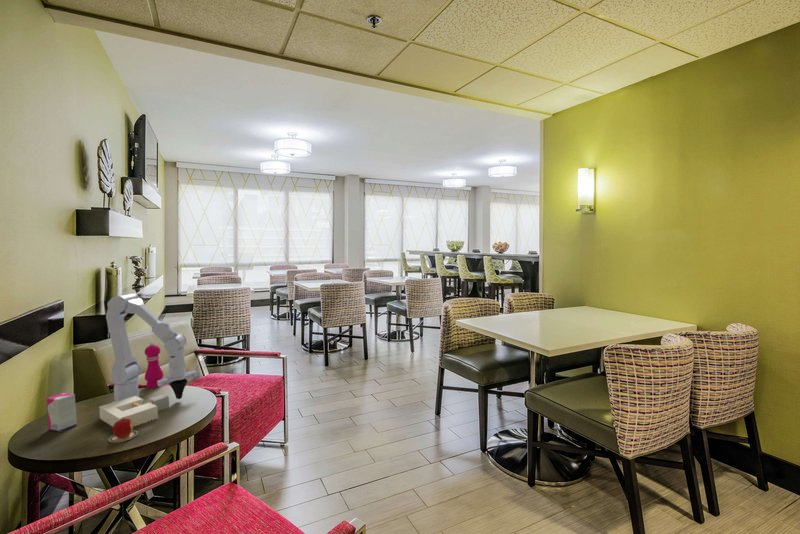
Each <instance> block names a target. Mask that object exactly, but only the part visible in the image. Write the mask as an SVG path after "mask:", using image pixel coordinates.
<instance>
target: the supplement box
mask: <svg viewBox="0 0 800 534" xmlns="http://www.w3.org/2000/svg"><path fill="white" fill-rule="evenodd" d="M46 409H47V410H46V411H47V420H48V422H47V423H48V431H51V432H56V433H60V432H61V433H62V432H63V431H66V430H68V429H71V428H73V427H77V426H78V425H77V424H78V423H77V408H76V394H75V393H69V392H62V393H59V394H55V395H52V396H49V397H47V398H46Z"/></svg>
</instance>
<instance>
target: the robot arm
mask: <svg viewBox="0 0 800 534" xmlns="http://www.w3.org/2000/svg"><path fill="white" fill-rule="evenodd" d="M106 304H107V305H106V306H107V309H106V310H107V311H106V314H105V319H106V323H107V324H106V325H107V328H108V333H109V337H110V341H111V347H112V350H113V357H114V359H115V361H114V362H113V364H112V366H111V374H110V375H111V376H110V379H111V381H112V382H113V383H114V385H113V394H114V395H113V396H114V398H113V399H114V401H112V402H111V403H113V402H116V401H120V400H123V399H126V398H130V397H133V396H137V397H139V398H140V391H139V375H141V372H142V367H141V365H140V364H139V362H138V360H137V358H136V357H135V356H134V355H132V351H131V346H130V343H129V342H130V340H129V337H128V333H127V329H126V324H125V317H126V316H127V315H128V314H132V315H133V314H134V315H137V316H138V317H139V318H140V319H142V320H143V321H144V322H145V323H147V325H148V326H149V327H151V332H152V333H153V334H154V336H156V337H157V338H158V339H159V340H160V341H161V342H162V343H163V347H164V349H165V351H166V352H167V357H168V358H167V359H168V360H167V361H168V373H169V374H168V375H169V376H166V377H164V378H162V379H161V380H159V381H157V384H158V386H159V387H163V386H165V385H169V386H170V388H171V389H172V390H173V393H174V396H175V398H176V400H180V399H182V398H183V393H184V391H185V387H186V386H187V383H188V379H189V378H193V377H197V376H198V371H197V370H191V371H186V359H185V346H186V344H187V337H186V336H185V335H184V334H182V333H178V332H177V331H175V329H173V328H172V327H171V326H170V323H169V322H166V321H163V320H161V321H160V320H159V319H158V317H156V316H155V314H154V313H153V312H152V311H151V310H150V309H149V308H148V306H146V304H145V303H144V301H143V298H141V297H140V296H139V295H138V294H137V293H134V292H129V293H126V294H122V295H115V296H112V297H111V298H110V299H109V300H108V302H107V303H106ZM142 400H143V402H144V399H142Z"/></svg>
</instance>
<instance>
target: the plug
mask: <svg viewBox="0 0 800 534" xmlns="http://www.w3.org/2000/svg"><path fill="white" fill-rule="evenodd" d="M169 399H170V397H169V396H168V395H166V394H160V395H157V396H153V397H149V400H148V401H149V402H148V403H152V404H154V405H156V406H157V411H158V412H159V411H163V410H166V409H169V408H170V400H169Z"/></svg>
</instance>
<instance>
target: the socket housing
mask: <svg viewBox="0 0 800 534" xmlns="http://www.w3.org/2000/svg"><path fill="white" fill-rule="evenodd" d="M143 400H144V399H143V398H141V397H140V396H139V397H137V396H133V397H130V398H126V399H123V400H120V401H116V402H114V401H112V402H113V403H112V402H110V403H107V404H104V405H100V406H99V407H98V409H99V410H98V411H99V419H100V420H102V422H104V423H106V424H108V425H109V426H110V427H112V428H113V426H114V424H115V423H116V422H117V421H119V420H121V419H123V417H124V419H130V420H132V423H133V428H135V427H137V425H138V426H140V424H141V425H143V424H147V423H149V422H152V421H154V419H155V420H157V419H159V414H158V412H159V411H157V406H156V405H154V404H152V403H149V402H147V403H143V402H144V401H143ZM135 402H136V403H138V404H140V406H137V407H134V408H133V403H135ZM151 420H152V421H151ZM148 421H149V422H148ZM142 423H143V424H142ZM134 426H135V427H134Z"/></svg>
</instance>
